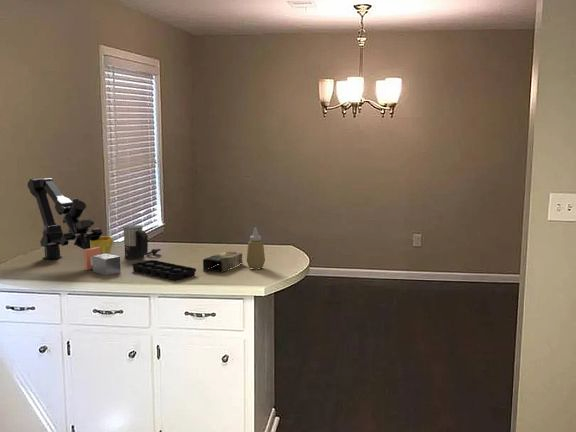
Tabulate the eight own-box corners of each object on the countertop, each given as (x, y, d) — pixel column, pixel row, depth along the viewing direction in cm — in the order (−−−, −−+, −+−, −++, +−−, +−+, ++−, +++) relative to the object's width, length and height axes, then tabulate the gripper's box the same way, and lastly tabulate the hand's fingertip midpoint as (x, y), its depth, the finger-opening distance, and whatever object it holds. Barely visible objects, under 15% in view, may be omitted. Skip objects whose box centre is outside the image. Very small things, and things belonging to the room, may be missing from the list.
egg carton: (148, 267, 302) (147, 258, 301) (204, 274, 288) (204, 265, 288) (122, 275, 286) (121, 266, 285) (180, 283, 273) (180, 274, 272)
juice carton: (225, 262, 309) (225, 249, 308) (244, 264, 305) (244, 251, 304) (202, 272, 291) (201, 258, 290) (222, 274, 287) (221, 260, 286)
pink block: (84, 269, 295) (83, 249, 293) (98, 266, 300) (97, 247, 299) (98, 272, 288) (97, 252, 287) (112, 269, 293) (111, 250, 292)
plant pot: (107, 261, 311) (106, 240, 309) (86, 260, 313) (85, 239, 312) (117, 257, 321) (116, 236, 319) (97, 256, 323) (96, 235, 322)
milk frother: (120, 258, 317) (118, 227, 315) (139, 252, 332) (138, 222, 330) (145, 261, 312) (144, 229, 310) (164, 254, 326) (163, 224, 324)
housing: (93, 271, 291) (92, 256, 289) (107, 269, 296) (106, 253, 295) (106, 275, 284) (105, 259, 283) (120, 272, 289) (120, 256, 288)
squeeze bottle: (267, 267, 298) (267, 226, 296) (261, 271, 291) (260, 230, 288) (250, 266, 301) (250, 226, 298) (243, 270, 293) (243, 229, 291)
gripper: (61, 215, 291) (77, 243, 285) (99, 210, 305) (114, 237, 299) (53, 231, 297) (68, 259, 292) (90, 226, 311) (105, 252, 305)
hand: (89, 251), depth 297 cm, fingers closed
